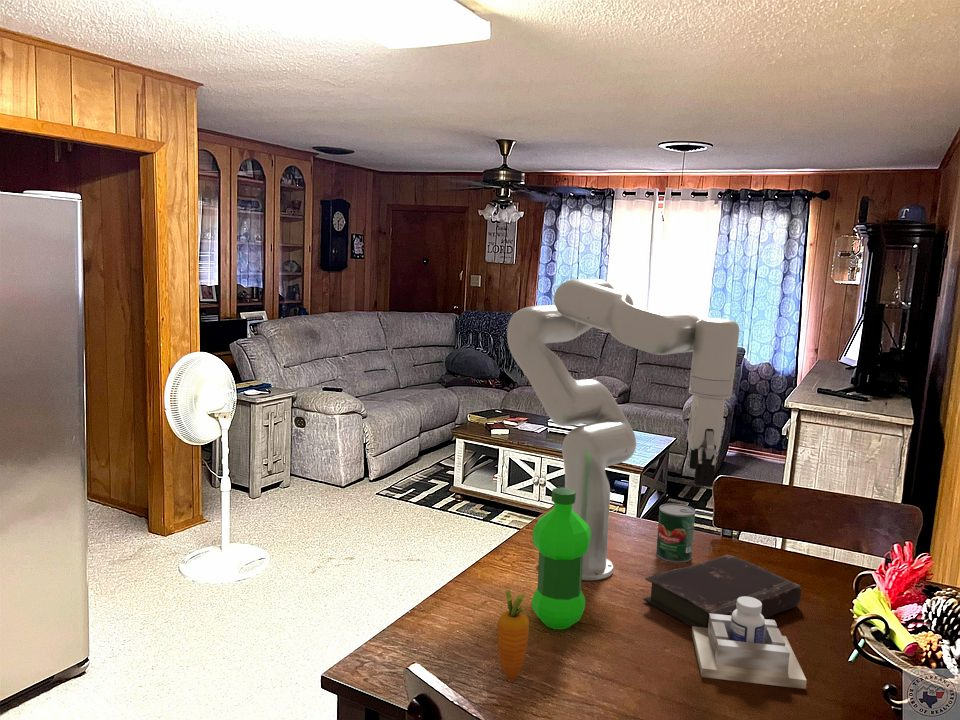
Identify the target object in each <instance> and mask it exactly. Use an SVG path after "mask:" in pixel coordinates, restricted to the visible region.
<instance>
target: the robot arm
mask: <svg viewBox="0 0 960 720" xmlns="http://www.w3.org/2000/svg"><path fill="white" fill-rule="evenodd" d="M592 328H595V329H597V330H601V331H604V332H606V333H608V334H610V335H611V336H612V337H613V338H614V339H615V340H617V342H619V343H621V344H623V345H625V346H628V347H630V348H634V349H636V350H638V351H639V350H640V351H641V352H645V353H648V354H652V355H659V356H665V355H672V354H673V355H674V354H683V353H692V359H691V368H690V375H689V377H690V378H689V385H688V394H691V395H692V399H691V406H690V407H691V408H690V412H689V419H688V427H687V433H686V439H687V443H688V445H689V448H690V449H691V450H690V458H689V466H688V467H689V469H691V470H694V471H695V473H694V478H693V479H694V481H693V482H694V485H695V486H699V487H708V488H711V487H713V486H714V479H715V471H716V453H717V452H718V451H719V450H720V445H721V439H722V431H723V423H724V413H725V412H724V411H725V403H726V402H725V401H726V400H727V399H731V398H732V395H733V394H732V393H733V387H734V379H735V371H736V364H737V363H736V362H737V356H738V346H739V338H740V326H739V324H738V323H737V322H736V321H734V320H731V319H727V318H722V317H721V318H719V317H708V316H704V315H701V314H698V313H695V312H690V311H689V312H687V311H685V312H684V311H683V312H665V313H659V312H654V311H650V310H646V309H643V308H640V307H636V306H635V305H634V302H633V298H632V297H631V295H629V294H628V293H626V292H624V291H620V290H616V289H614V287H613V285H611V284H610V283H609V282H608V281H606V280H604V279H599V278H589V279H588V278H578V279H577V278H574V279H569V280H566V281H564V282H562V283H561V284H560V285H558V287H557V288H556V290H555V292H554V296H553V304H549V305H548V304H544V305H540V304H539V305H531V306H527V307H523V308H521V309H519V310H517V311H516V312H514V313H513V315H512V316H511V317H510V319H509V321H508V325H507V331H506V332H507V333H506V337H507V339H506V340H507V344H508V348H509V351H510V354H511V356H512V357H513V359H514V361H515V362H516V364H517V365H518V367H519V368H520V369H521V371H522V372H523V373H524V375H525V377H526V379H527V380H528V381H529V384H530V385H531V387H532V389H533V391H534V392H535V394H536V396H537V398H538V399H539V402H540V403H541V405H542V406H543V409H544V410H545V412H546V414H547V416H548V417H549V418H550V420H551V421H552V422H553V423H554V424H555V425H557V426H561V427H568V426H569V427H570V426H575V425H579V424H582V425H579V426H577V427H575V428H573V429H571V430H570V431H569V432H568V433H567V434H566V435H565V437H564V439H563V442H562V444H561V445H562V447H561V450H562V451H561V453H562V459H563V466H564V481H565V482H564V488H569V489H573V490H574V491H576V500H575V503H574V504H572V510H573V511H574V512H575V513H576V514H577V515H579V516H580V517H581V518H582V519H583V520H584V521H585V522H586V523H587V524H588V525H589V528H590V531H591V540H590V544H589V547H588V549H587V552H586V553H585V554H584V555H583V561H582V580H581V581H599V580H604V579H606V578H608V577H610V576H611V575H613V573H614V564H613V562H612V561H611V560H610V559H608V558H607V556H608V542H609V541H608V540H609V539H608V538H609V523H610V521H609V520H610V509H611V507H610V505H611V502H610V501H611V487H610V486H611V485H610V481H609V479H608V476H607V474H606V468H608V467H609V466H610V467H611V466H613V465H616V464H620V463H623V462H626V461H627V460H629V459H630V458H631V457H633V454H634V453H635V451H636V449H637V448H636V447H637V438H636V435H635V432H634V429H633V428H632V426H631V424H630V422H629V421H628V419H627V417H626V416H625V414H624V412H623V411H622V409H621V408H620V406H619V404H618V402H617V401H616V399H615V398H614V396H613V395H612V393H611V391H610V390H609V389H608V388H607V386H606V385H604V384H603V383H602V382H600V381H598V380H596V379H591V378H583V379H575V378H574V377H573V376H572V375H571V374H570V372H569V370H568V369H567V367H566V366H565V364H564V362H563V360H562V359H561V358H560V357H559V356H558V355H557V354H556V353H555V352H554V351H552V350H551V349H550V348H548V346H546V344H554V343H555V344H556V343H564V342H565V343H566V342H569V341H572V340H575V339H576V338H578V337H579V336H581V335H582V334H584V333H586V332H588V331H589V330H591V329H592ZM584 423H585V424H584Z"/></svg>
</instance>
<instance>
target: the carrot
mask: <svg viewBox="0 0 960 720" xmlns="http://www.w3.org/2000/svg"><path fill="white" fill-rule="evenodd" d="M505 595H506V599H507V600H506V601H507V602H506V603H507V609H508V610H507V611H504V612H502V613H501V614H500V616H499V618H498V619H497V649H498V650H497V651H498V656H499V661H500V666H501V667H502V668H501V669H502V670H503V674H504V675H505V677H506V680H507V681H508V682H509V683H513V682H515V681H516V679H517V677H518V675H519V673H520V672H521V669H522V667H523V664H524V662H525V659H526V658H525V657H526V655H527V649H528V643H529V632H530V618H529V617H528V616H527V615H526V614H524V611H525V608H524V607H523V606H521V607H519V606H520V605H521V604H522V602H523V599H524V598H525V596H526V594H524V593H522V594H518V595H517V596H516V598H515V601H514V602H513V598H512V594H511V592H510V589H508V590H506V591H505Z"/></svg>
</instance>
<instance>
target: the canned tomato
mask: <svg viewBox="0 0 960 720" xmlns="http://www.w3.org/2000/svg"><path fill="white" fill-rule="evenodd" d="M658 512H659V513H658V521H657V522H658V525H657V536H656V537H657V538H656V551H655V555H656V556H657V557H658V559H661V560H663V561H666V562H669V563H670V562H671V563H677V564H680V563H687V562H690V561H691V560H692V559H693V544H694V534H695V533H694V531H695V518H696V510H695V508H693V507H691V506H688V505H686V504H682V503H681V504H680V503H663V504H661V505H660V506H659V511H658Z"/></svg>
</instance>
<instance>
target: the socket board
mask: <svg viewBox="0 0 960 720" xmlns="http://www.w3.org/2000/svg"><path fill="white" fill-rule="evenodd" d="M731 617H732V616H730V615H720V614H711V613H709V624H708V628H704V627H694V626H692V627H691V637H692V642H693V646H694V649H695V654H696V660H697V663H698V664H697V665H698V668H699V672H700V677H701V678H707V679H717V680H724V681H725V680H726V681H733V682H742V683H751V684H752V683H753V684H758V685H759V684H761V685H769V686H776V687H786V688H795V689H803V690H806V689H807V678H806V676H805V674H804V672H803V669H802V666H801V665H800V663H799V661H798V659H797V656H796V655H795V652H794V650H793V648H792V646H791V644H790V642H789V640H788V637H787V636H786V635H782V632H781V631H780V628H778V625H777V622H776V620H775V619H767V618H766V619H765V625H764V636H763V644H759V643H750V642H741V641H731V640H730V629H731Z"/></svg>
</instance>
